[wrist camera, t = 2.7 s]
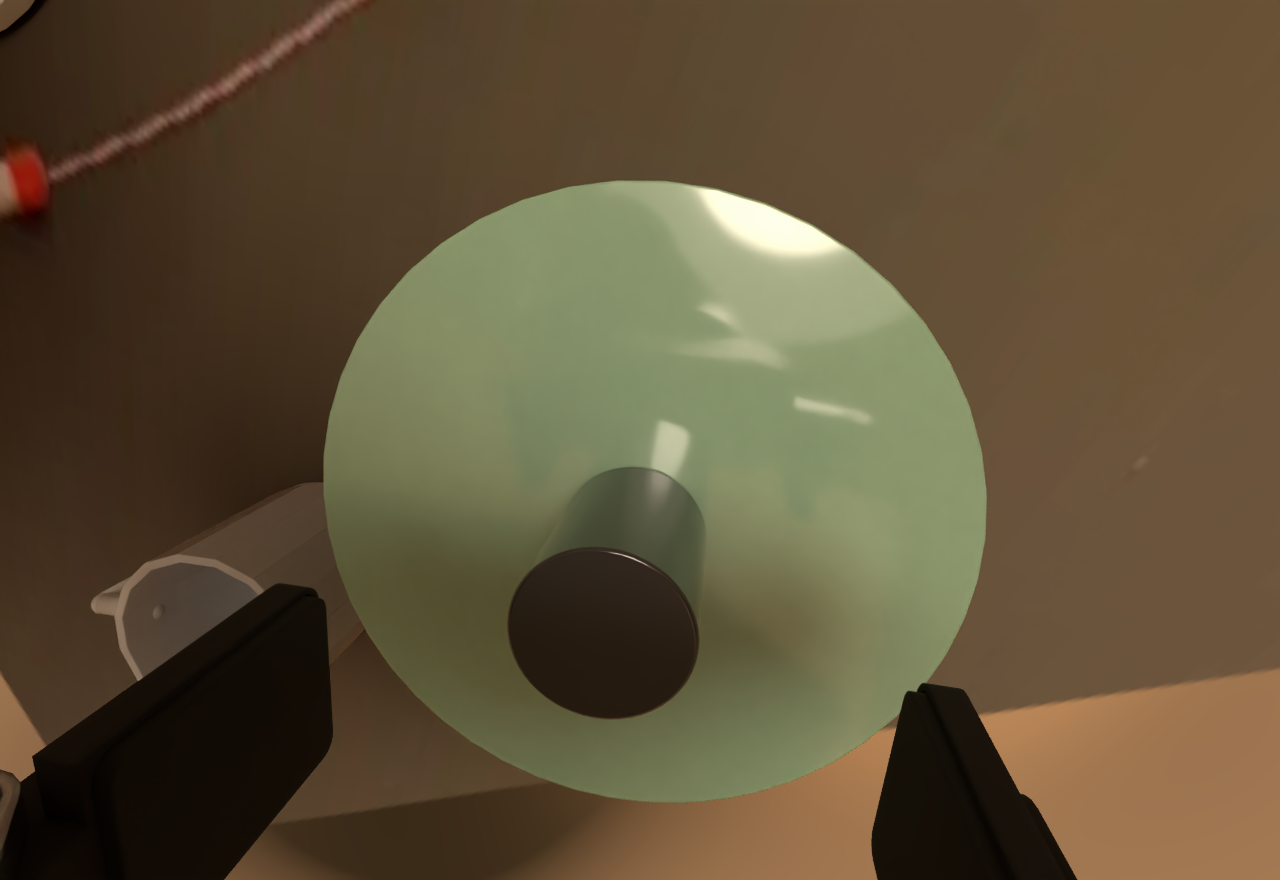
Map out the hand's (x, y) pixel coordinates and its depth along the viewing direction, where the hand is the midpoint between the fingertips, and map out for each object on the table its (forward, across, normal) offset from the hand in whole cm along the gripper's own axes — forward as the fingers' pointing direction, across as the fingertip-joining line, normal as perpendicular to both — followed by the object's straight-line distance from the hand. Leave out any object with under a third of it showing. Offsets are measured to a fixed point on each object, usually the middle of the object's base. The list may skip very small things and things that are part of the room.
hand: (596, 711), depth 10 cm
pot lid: (+7, 0, 0) cm, 7 cm away
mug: (+15, +16, +7) cm, 23 cm away
